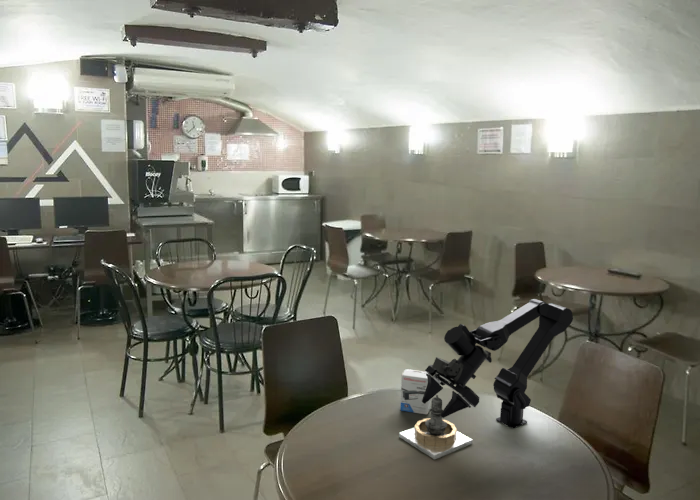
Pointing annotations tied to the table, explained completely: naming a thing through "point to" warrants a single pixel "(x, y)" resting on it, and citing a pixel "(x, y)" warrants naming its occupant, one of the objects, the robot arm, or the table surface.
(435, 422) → the grey stone tall piece
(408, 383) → the ink box
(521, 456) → the table surface
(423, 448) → the socket plate
